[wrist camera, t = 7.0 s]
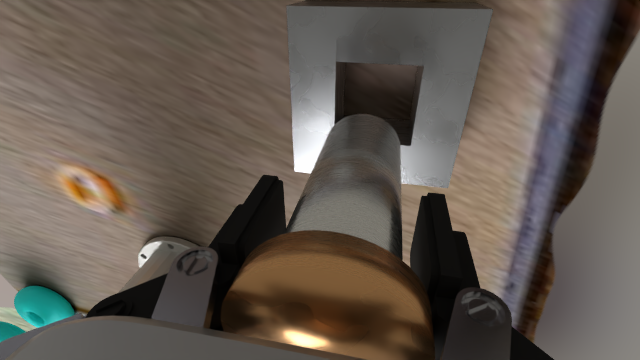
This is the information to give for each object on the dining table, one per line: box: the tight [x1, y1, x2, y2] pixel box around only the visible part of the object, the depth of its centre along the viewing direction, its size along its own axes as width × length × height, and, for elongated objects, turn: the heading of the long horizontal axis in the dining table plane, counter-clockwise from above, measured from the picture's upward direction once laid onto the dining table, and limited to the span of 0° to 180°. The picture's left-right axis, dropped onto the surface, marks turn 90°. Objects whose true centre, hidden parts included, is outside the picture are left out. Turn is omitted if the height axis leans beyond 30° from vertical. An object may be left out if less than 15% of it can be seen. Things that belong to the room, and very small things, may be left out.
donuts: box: [0, 286, 75, 342], centre depth 54 cm, size 10×10×10 cm
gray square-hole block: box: [287, 0, 493, 188], centre depth 24 cm, size 12×12×5 cm
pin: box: [221, 114, 435, 360], centre depth 13 cm, size 5×5×11 cm
